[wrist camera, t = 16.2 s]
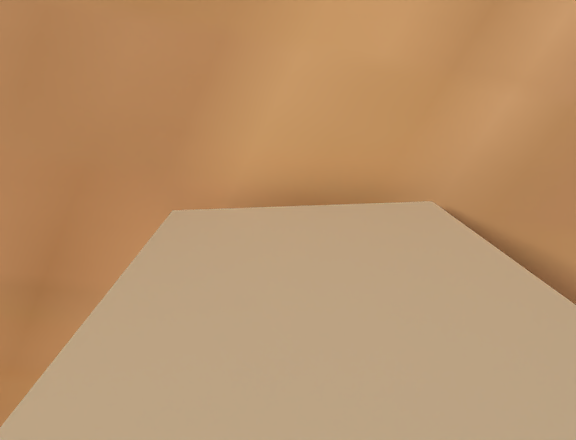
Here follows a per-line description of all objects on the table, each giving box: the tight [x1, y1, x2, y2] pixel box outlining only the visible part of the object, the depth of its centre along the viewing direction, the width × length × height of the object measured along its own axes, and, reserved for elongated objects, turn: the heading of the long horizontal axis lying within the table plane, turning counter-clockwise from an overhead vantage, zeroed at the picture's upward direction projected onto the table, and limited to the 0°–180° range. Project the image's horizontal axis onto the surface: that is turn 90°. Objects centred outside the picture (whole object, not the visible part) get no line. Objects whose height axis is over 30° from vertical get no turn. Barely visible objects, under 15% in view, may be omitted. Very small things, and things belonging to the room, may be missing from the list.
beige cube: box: [0, 201, 576, 440], centre depth 8 cm, size 8×8×9 cm
